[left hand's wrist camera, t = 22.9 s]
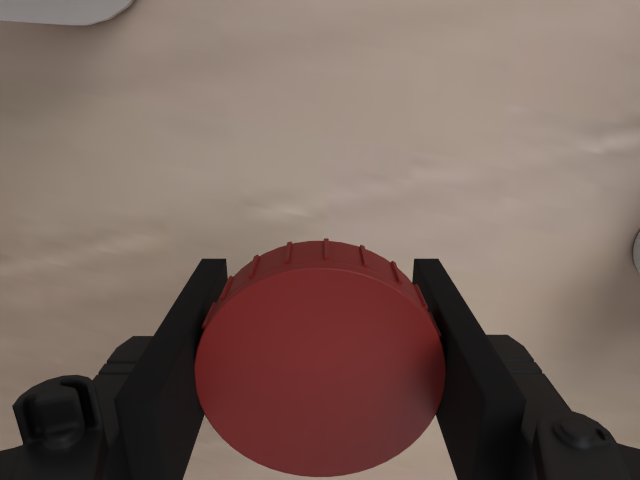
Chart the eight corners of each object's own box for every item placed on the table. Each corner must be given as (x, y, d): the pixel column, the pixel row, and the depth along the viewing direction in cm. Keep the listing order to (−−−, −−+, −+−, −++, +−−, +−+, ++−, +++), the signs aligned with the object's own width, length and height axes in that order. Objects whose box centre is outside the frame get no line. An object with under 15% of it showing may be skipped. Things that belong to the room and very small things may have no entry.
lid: (480, 313, 12) (504, 350, 10) (350, 461, 14) (353, 512, 12) (282, 191, 11) (276, 212, 9) (169, 371, 13) (147, 414, 11)
